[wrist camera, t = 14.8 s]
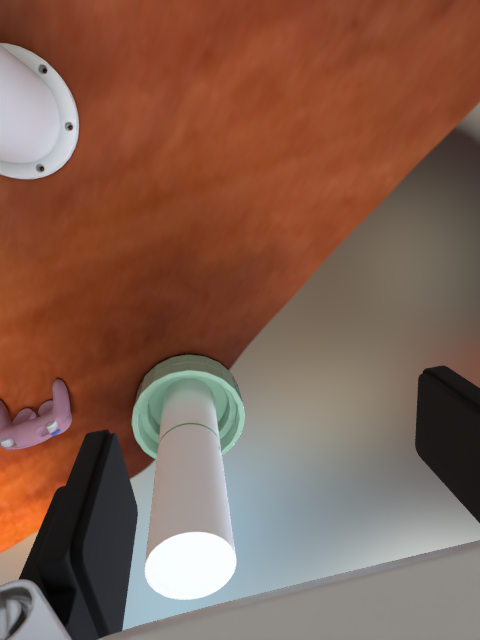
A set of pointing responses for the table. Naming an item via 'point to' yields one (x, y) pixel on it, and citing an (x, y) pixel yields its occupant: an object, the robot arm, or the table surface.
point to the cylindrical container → (189, 499)
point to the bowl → (177, 369)
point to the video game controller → (36, 421)
